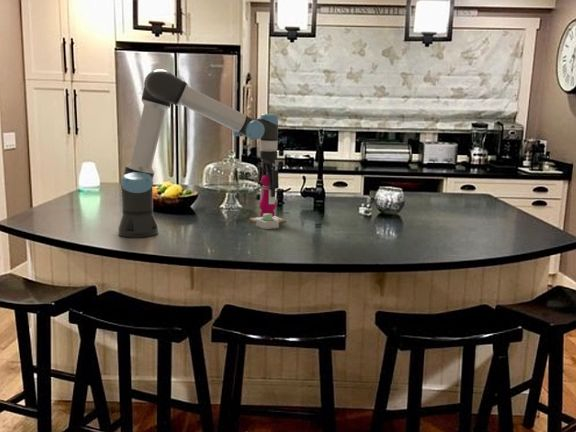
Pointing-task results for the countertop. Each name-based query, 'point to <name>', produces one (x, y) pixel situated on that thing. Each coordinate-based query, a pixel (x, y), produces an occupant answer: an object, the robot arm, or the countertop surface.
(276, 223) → the button base
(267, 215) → the button
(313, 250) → the countertop surface
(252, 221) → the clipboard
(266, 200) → the pepper mill
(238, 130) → the robot arm
